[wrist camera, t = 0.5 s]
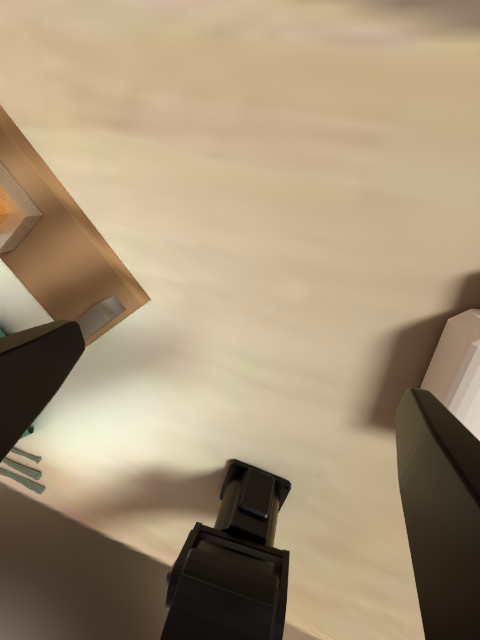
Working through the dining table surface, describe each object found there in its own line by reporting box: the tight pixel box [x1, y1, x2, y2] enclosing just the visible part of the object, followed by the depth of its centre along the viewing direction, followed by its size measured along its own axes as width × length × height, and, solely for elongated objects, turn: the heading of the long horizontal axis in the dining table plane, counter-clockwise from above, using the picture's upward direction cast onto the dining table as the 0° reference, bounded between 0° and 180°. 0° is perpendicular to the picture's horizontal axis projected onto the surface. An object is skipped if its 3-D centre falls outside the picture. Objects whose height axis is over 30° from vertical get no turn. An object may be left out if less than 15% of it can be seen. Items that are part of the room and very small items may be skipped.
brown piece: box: [0, 105, 151, 347], centre depth 23 cm, size 19×9×6 cm, turn 36°
